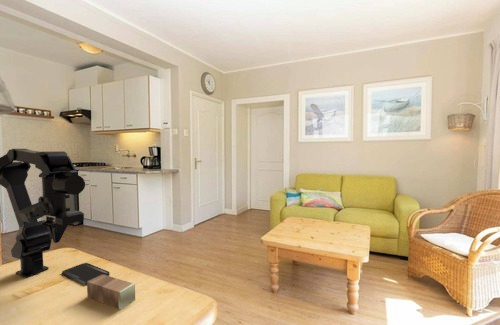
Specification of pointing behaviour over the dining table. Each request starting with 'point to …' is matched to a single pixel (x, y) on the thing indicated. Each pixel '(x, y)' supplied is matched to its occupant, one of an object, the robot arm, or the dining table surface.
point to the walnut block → (111, 291)
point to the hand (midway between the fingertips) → (56, 242)
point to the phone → (84, 273)
